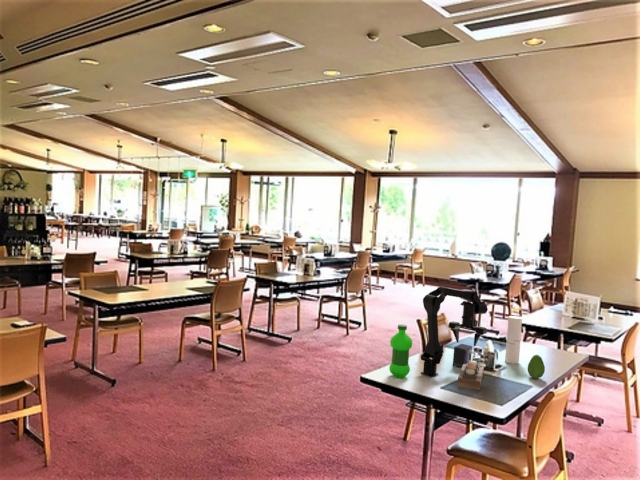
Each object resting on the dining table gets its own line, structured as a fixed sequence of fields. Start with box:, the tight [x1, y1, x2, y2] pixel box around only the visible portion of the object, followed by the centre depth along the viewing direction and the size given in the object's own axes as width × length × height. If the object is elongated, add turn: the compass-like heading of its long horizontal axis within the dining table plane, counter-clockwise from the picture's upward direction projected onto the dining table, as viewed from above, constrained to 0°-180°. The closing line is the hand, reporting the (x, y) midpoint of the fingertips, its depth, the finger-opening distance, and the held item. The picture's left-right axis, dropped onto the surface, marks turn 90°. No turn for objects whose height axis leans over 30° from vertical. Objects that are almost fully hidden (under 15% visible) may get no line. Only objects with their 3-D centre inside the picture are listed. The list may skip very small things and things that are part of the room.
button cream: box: [469, 359, 478, 366], centre depth 259 cm, size 4×4×2 cm
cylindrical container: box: [504, 315, 523, 364], centre depth 289 cm, size 7×7×25 cm
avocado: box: [527, 354, 546, 380], centre depth 261 cm, size 8×8×12 cm
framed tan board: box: [456, 363, 485, 391], centre depth 252 cm, size 26×10×6 cm, turn 159°
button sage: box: [466, 369, 475, 375], centre depth 244 cm, size 4×4×2 cm
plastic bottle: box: [389, 324, 413, 379], centre depth 251 cm, size 10×10×25 cm
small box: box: [452, 343, 473, 369], centre depth 276 cm, size 11×6×10 cm, turn 143°
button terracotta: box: [467, 365, 476, 370], centre depth 252 cm, size 4×4×2 cm
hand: (466, 344), depth 268 cm, fingers open, 9 cm apart
